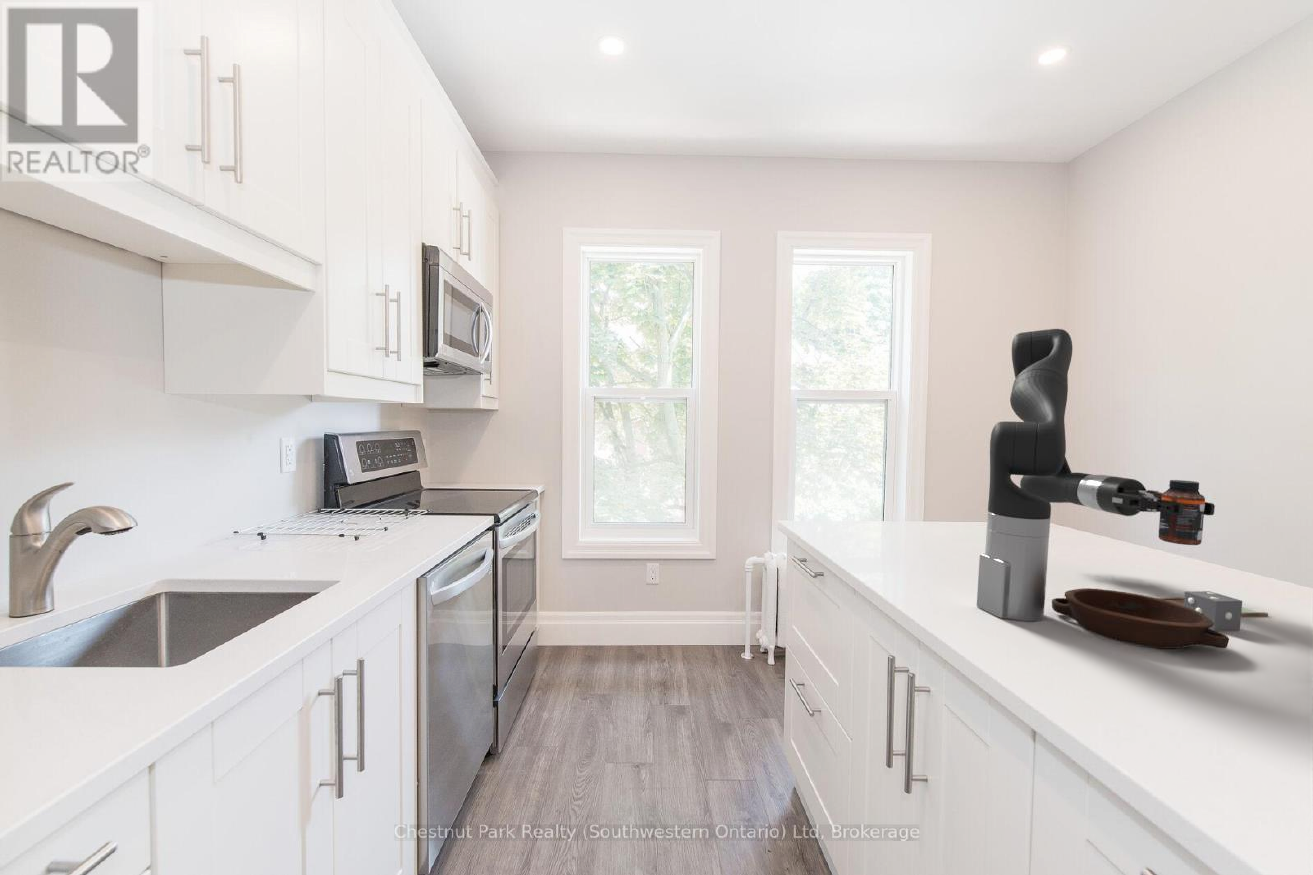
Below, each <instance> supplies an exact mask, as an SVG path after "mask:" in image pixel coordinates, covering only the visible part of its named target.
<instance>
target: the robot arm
mask: <svg viewBox="0 0 1313 875" xmlns="http://www.w3.org/2000/svg"><path fill="white" fill-rule="evenodd" d="M1072 341H1073V340H1072V338H1071V335H1070V333H1069V332H1068V331H1066V330H1065V329H1063V328H1050V329H1042V330H1041V329H1040V330H1034V331H1025V332H1019V333H1016V334H1015V336H1014V337H1013V339H1012V343H1011V360H1012V361H1011V362H1012V367H1013V373H1014V381H1013V384H1012V388H1011V393H1010V399H1009V401H1010V406H1011V408H1012V410H1013V412H1014V414H1015V415H1016V416H1017V417H1018V418H1019V419H1020V420H1021V421H998V422H997V423H995V425H994V426H993V428H992V431H991V434H990V440H989V488H988V490H989V492H988V503H987V518H986V520H987V521H986V522H987V523H986V533H985V534H986V535H985V551H984V553H980V555H979V560H978V562H979V564H978V577H977V578H978V580H977V581H978V582H977V593H976V594H977V596H976V607H978V608H980V609H982V610H984V611H986V612H987V613H989V614H992V615H994V616H996V617H998V618H999V619H1010V620H1016V621H1024V622H1025V621H1026V622H1037V621H1041V620H1043V619H1044V615H1045V604H1046V601H1045V600H1046V591H1047V589H1046V588H1047V572H1048V560H1049V559H1048V556H1049V547H1050V546H1049V544H1050V543H1049V542H1050V533H1051V532H1050V531H1051V530H1050V529H1051V516H1052V515H1051V514H1052V505H1051V503H1055V504H1056V503H1057V504H1058V503H1060V504H1064V503H1065V504H1066V503H1067V504H1069V503H1070V504H1074V505H1077V506H1083V507H1088V508H1091V509H1093V510H1096V511H1101V512H1105V513H1110V514H1115V515H1118V516H1123V517H1133V516H1135V515H1137V514H1139V513H1140V512H1143V513H1160V512H1163V513H1168V514H1174V515H1182V514H1183V504H1182V503H1179V502H1173V501H1167V500H1161V498H1162V494H1163V493H1164V492H1160V491H1159V490H1154V489H1153V490H1152V489H1146V487H1145V485H1144V484H1143V483H1142V482H1141V481H1139V480H1137V479H1134V478H1127V477H1121V476H1113V475H1108V474H1107V475H1106V474H1091V473H1083V472H1072V470H1071V468H1070V464H1069V462H1068V460H1067V457H1066V451H1067V442H1066V428H1065V427H1066V426H1065V415H1066V408H1067V401H1068V391H1069V386H1068V385H1069V381H1068V380H1069V379H1068V374H1069V371H1070V370H1069V369H1070V366H1071V362H1072V357H1073V342H1072ZM1013 475H1015V476H1022V477H1021V479H1020V483H1019V484H1020V486H1019V485H1017V484H1016V483H1015V482H1014V481H1013V480H1012V478H1011V476H1013ZM1215 506H1216V505H1215V504H1214V503H1212V502H1207V501H1205V508H1204V516H1214V515H1215V510H1216V509H1215V508H1216V507H1215Z"/></svg>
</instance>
